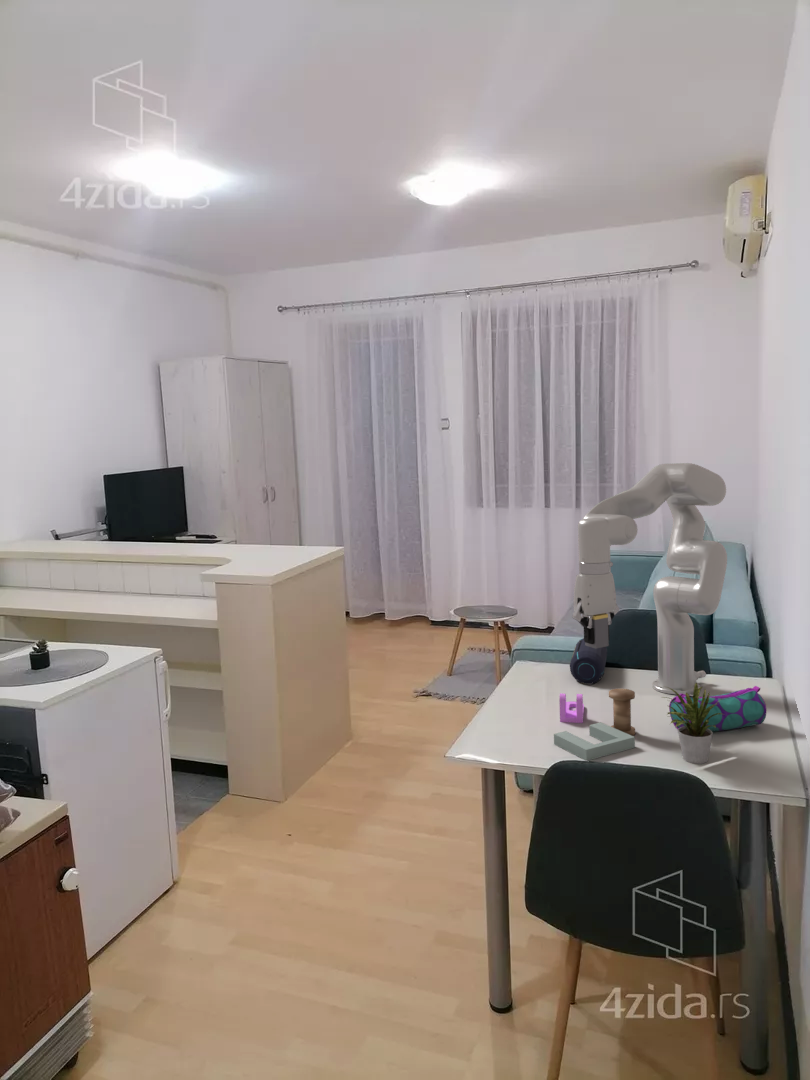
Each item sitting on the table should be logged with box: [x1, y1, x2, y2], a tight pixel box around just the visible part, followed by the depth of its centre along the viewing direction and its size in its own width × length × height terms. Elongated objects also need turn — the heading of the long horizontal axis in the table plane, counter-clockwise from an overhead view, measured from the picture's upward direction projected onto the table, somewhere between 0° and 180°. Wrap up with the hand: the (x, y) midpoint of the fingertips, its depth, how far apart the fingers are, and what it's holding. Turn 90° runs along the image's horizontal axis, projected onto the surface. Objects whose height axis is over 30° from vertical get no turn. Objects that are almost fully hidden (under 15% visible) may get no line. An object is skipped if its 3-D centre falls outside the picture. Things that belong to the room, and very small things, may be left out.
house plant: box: [662, 681, 724, 765], centre depth 167 cm, size 14×14×16 cm
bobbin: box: [608, 688, 636, 737], centre depth 183 cm, size 6×6×10 cm
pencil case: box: [668, 685, 767, 732], centre depth 183 cm, size 21×9×10 cm, turn 99°
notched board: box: [553, 721, 636, 761], centre depth 176 cm, size 14×12×2 cm
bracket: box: [559, 692, 585, 724], centre depth 198 cm, size 13×6×7 cm, turn 165°
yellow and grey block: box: [585, 614, 610, 649], centre depth 189 cm, size 4×4×8 cm
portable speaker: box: [569, 637, 608, 685], centre depth 231 cm, size 25×10×10 cm, turn 163°
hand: (596, 640), depth 189 cm, fingers closed on yellow and grey block, 4 cm apart
